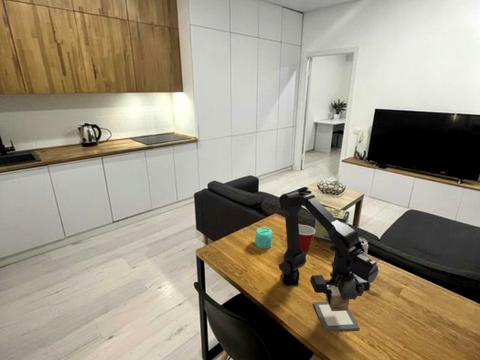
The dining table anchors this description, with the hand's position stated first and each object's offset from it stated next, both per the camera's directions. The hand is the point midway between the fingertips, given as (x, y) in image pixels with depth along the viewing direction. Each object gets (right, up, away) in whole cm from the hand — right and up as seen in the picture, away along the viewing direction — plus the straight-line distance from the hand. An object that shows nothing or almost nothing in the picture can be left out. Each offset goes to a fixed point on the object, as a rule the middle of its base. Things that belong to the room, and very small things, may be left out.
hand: (336, 302), depth 91 cm
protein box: (+15, +11, +51) cm, 54 cm away
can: (+20, +4, +30) cm, 37 cm away
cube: (0, -1, 0) cm, 1 cm away
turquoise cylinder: (-22, +9, +45) cm, 51 cm away
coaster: (0, -6, +2) cm, 6 cm away
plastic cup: (-2, +7, +41) cm, 41 cm away
